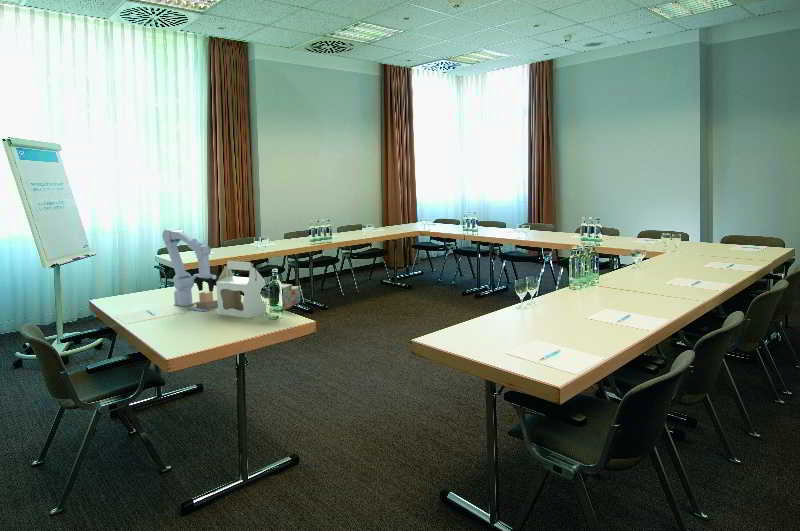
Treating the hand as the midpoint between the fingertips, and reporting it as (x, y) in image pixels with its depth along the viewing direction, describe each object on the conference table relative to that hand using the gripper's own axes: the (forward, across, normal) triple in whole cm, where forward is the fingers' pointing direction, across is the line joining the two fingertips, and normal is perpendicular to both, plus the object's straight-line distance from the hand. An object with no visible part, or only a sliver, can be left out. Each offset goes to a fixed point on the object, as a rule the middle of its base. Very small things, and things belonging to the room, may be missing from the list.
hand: (206, 291), depth 299 cm
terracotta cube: (+6, 0, 0) cm, 6 cm away
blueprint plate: (+9, 0, 0) cm, 9 cm away
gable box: (+10, +28, -4) cm, 30 cm away
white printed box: (+10, +41, +18) cm, 46 cm away
